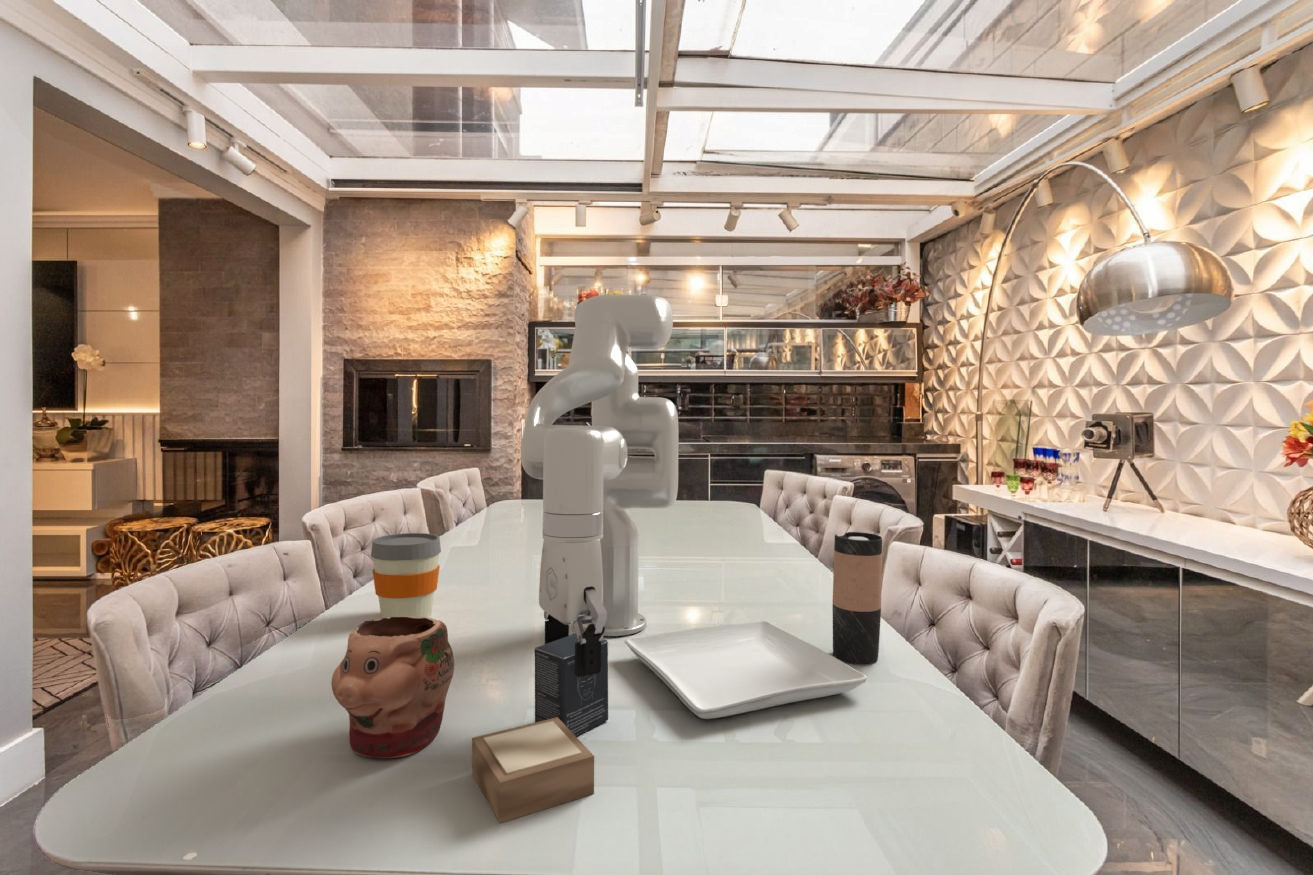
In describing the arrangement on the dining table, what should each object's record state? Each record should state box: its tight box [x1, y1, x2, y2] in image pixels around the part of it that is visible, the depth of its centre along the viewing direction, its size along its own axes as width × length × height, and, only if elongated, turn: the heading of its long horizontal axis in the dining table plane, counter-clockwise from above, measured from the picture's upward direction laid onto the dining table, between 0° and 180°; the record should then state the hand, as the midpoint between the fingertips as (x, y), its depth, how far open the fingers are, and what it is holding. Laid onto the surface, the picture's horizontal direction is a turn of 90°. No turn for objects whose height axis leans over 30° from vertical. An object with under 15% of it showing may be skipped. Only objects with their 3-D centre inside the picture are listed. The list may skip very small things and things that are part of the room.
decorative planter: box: [331, 616, 455, 759], centre depth 81 cm, size 20×12×14 cm, turn 173°
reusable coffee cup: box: [370, 532, 442, 619], centre depth 126 cm, size 13×13×15 cm
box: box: [534, 632, 609, 737], centre depth 83 cm, size 8×6×11 cm
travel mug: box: [832, 531, 883, 666], centre depth 108 cm, size 8×8×20 cm
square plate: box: [624, 620, 868, 720], centre depth 100 cm, size 27×27×4 cm
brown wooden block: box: [471, 717, 595, 824], centre depth 70 cm, size 10×10×4 cm
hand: (571, 661), depth 83 cm, fingers open, 9 cm apart
